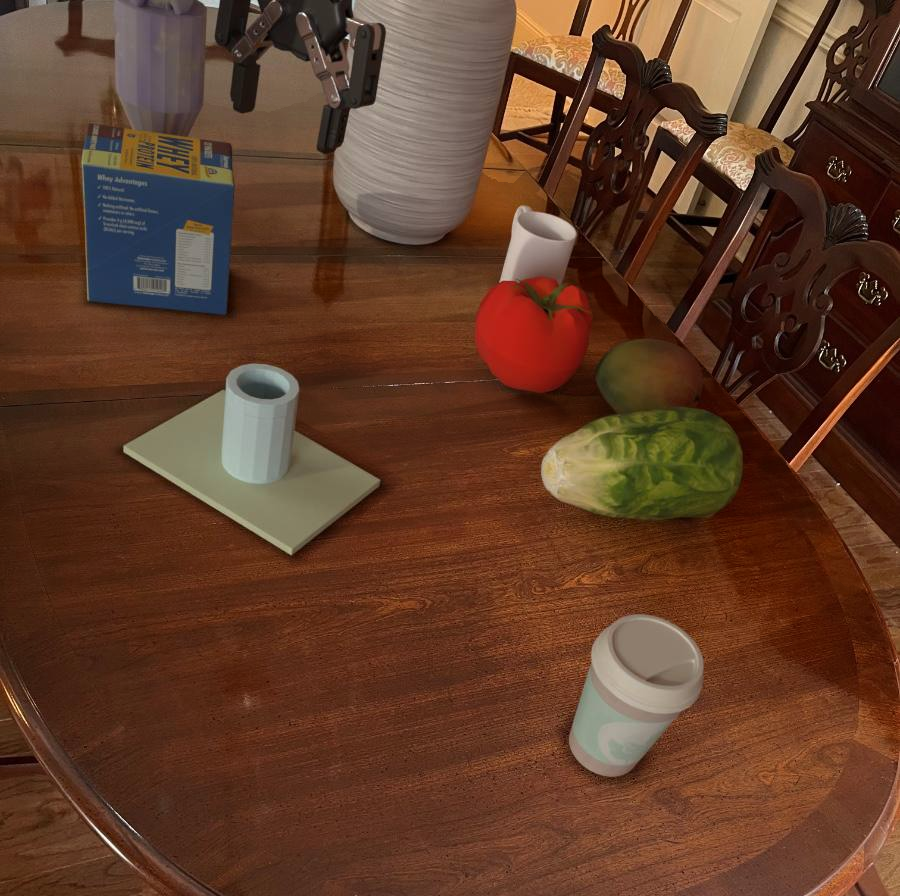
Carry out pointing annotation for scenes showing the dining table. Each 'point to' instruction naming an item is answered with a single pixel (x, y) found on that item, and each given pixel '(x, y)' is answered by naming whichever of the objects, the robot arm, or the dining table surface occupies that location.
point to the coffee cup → (633, 691)
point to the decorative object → (160, 63)
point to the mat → (253, 505)
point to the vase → (425, 116)
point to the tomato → (533, 332)
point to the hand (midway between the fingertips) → (284, 131)
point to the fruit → (648, 376)
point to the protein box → (157, 219)
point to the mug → (538, 246)
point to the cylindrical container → (259, 423)
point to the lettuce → (647, 465)
